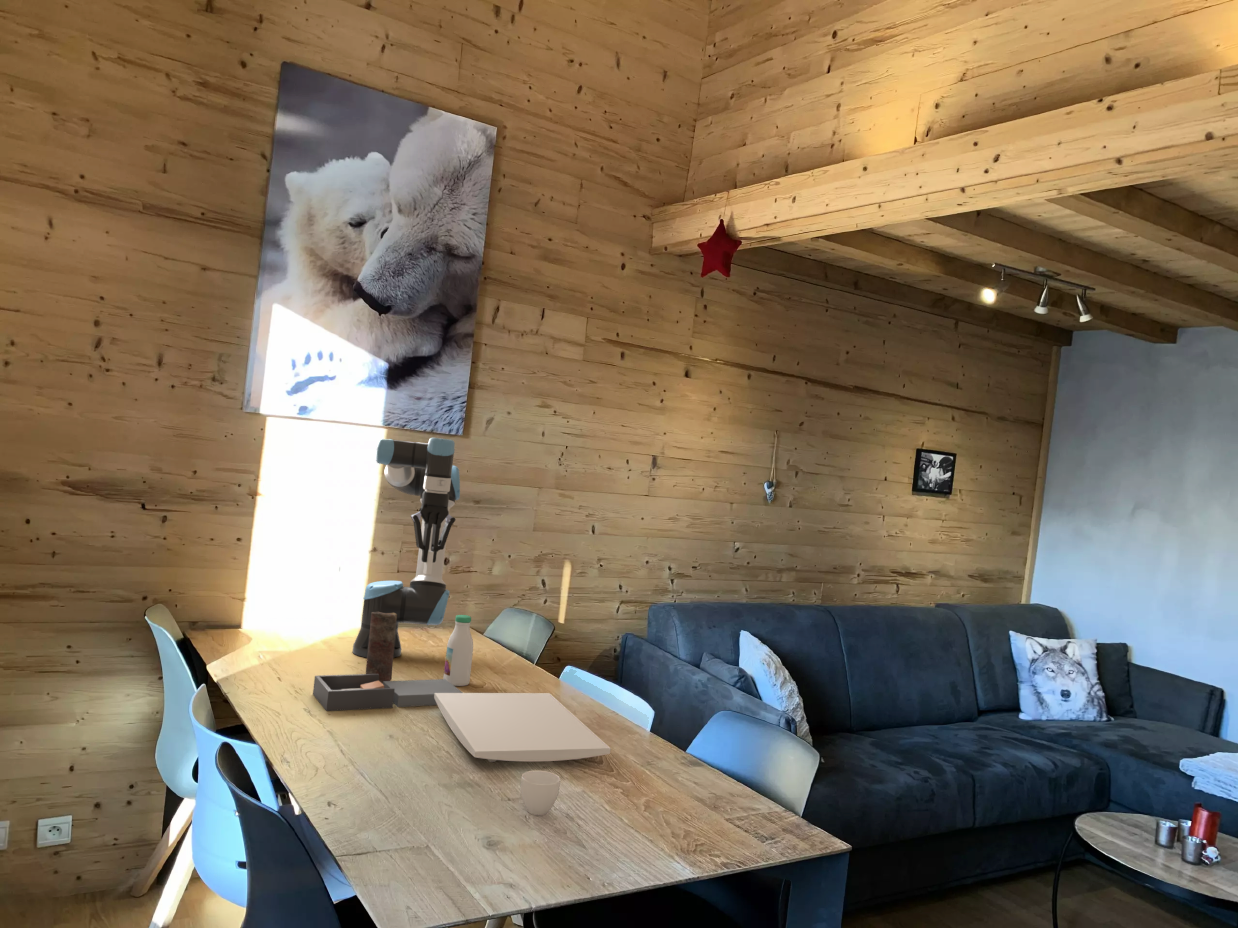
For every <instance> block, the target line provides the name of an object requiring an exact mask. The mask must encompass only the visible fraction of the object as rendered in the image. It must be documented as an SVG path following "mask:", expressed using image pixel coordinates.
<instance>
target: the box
mask: <svg viewBox="0 0 1238 928" xmlns="http://www.w3.org/2000/svg"><path fill="white" fill-rule="evenodd" d="M375 681H379V674H366V673H359V674H357V673H356V674H355V673H354V674H326V675H325V674H323V675H318V674H317V675H314V681H313V690H312V695H313V697H314V698H315V699H316V700H317V702H319V704H320V705H321V706H322V708H323V709H324V710H325V711H326V712H334V711H336V712H337V711H355V710H356V711H357V710H373V709H375V710H376V709H377V710H378V709H391V708H393V706H394V703H393V699H394V690H395V689H394V688H374V689H356V688H360V685H363V684H367V683H371V682H375ZM341 689H348V690H341Z"/></svg>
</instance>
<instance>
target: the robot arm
mask: <svg viewBox="0 0 1238 928" xmlns="http://www.w3.org/2000/svg"><path fill="white" fill-rule="evenodd" d="M455 444H456V443H455V441H454V440H453V439H447V438H439V437H430V438H429V440H428V443H425V442H417V441H416V442H415V441H407V440H399V439H392V438H380V439H379V440H378V441H377V445H376V454H375V461H376V463H377V464H379V465H384V466H385V468H384V478H385V480H386V482H387V483H388V484H389V485H390V486H391V487H392V488H393V489H395V490H397V491H399V492H401V493H403V494H406V495H410V496H417V497H418V496H419V502H420V503H421V505H420V508H419V509H418V511H417V512H416V513H414V514H411V515H410V518H411V520H412V522H413V528H414V536H415V537H414V538H415V545H416V548H418V553H417V562H416V563H417V564H416V572H415V577H413V579H411V580H410V582H409V586H404V583H403V581H401V580H380V581H374V582H370V583H368V584H367V585H366V586H365V592H364V595H363V607H362V614H361V623H360V624H361V625H360V630H359V631H358V634H357V636H356V638H355V640H354V643H353V646H352V653H353V654H354V655H355V656H358V657H362V658H367V654H368V645H369V634H370V624H371V613H372V612H382V613H396V614H397V618H396V630H395V641H394V654H393V659H394V658H397V657H400V656H401V655H402V644H401V640H400V635H399V623H402V624H413V625H414V624H416V625H426V626H429V625H430V626H438V625H440V624H442V622H443V620H444V617H445V613H446V609H447V605H448V600H449V597H450V593H451V591H450V590H449V589H447V583H446V582H445V581H444V580H443V573H444V566H445V554H446V546H447V540H448V538H449V534H450V531H451V528H452V526H453V525H454V523H455V522H456V520H457V519H456V518H455V517H453V516H452V515H451V514H450V509H452V507H454V506H455V504H456V501H458V500H460V498H461V497H460V496H461V490H460V489H461V479H460V477H461V476H460V469H459V467H458V466H456V465H454V456H455V450H456V449H455ZM421 520H422V521H421Z"/></svg>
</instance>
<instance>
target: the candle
mask: <svg viewBox="0 0 1238 928" xmlns="http://www.w3.org/2000/svg"><path fill="white" fill-rule="evenodd" d="M396 618H397V614H396V613H382V612H372V613H371V624H370V634H369V645H368V654H367V657H366V664H365V665H366V666H365V674H379V681H380V682H381V683H382V684H383V681H392V676H393V666H394V658H393V654H394V641H395V630H396Z"/></svg>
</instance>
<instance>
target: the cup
mask: <svg viewBox="0 0 1238 928" xmlns="http://www.w3.org/2000/svg"><path fill="white" fill-rule="evenodd" d="M560 786H561V777H560V776H559V775H557V774H556V773H553V772H550V771H547V770H538V769H537V770H529V771H528V770H527V771H525V772H523V773H522V774H521V778H520V797H521V800H522V804H523V806H524V808H525V810H526V812H527V813H528V814H530V815H535V816H545V815H547V814H548V813H549V812H550V810H551V809H552V808H553V806H554V805H555V803H556V801H557V798H558V796H559V792H560Z"/></svg>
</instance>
